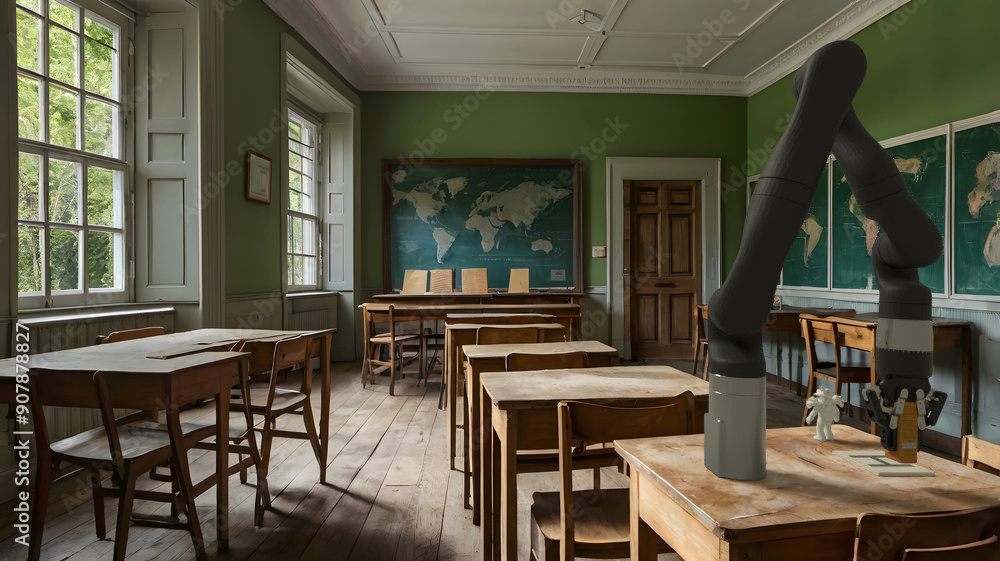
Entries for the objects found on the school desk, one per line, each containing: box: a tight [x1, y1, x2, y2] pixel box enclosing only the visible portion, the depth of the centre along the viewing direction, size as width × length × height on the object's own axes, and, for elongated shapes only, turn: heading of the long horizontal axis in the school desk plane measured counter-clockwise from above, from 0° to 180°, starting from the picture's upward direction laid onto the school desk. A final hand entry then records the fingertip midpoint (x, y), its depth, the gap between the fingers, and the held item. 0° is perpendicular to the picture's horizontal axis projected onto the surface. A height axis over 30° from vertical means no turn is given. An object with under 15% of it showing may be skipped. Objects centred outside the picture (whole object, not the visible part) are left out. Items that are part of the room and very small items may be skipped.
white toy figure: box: [805, 385, 845, 442], centre depth 112 cm, size 9×4×12 cm, turn 106°
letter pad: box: [832, 450, 936, 477], centre depth 96 cm, size 10×12×1 cm
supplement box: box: [884, 402, 918, 464], centre depth 86 cm, size 3×3×10 cm
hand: (901, 449), depth 86 cm, fingers closed on supplement box, 3 cm apart
